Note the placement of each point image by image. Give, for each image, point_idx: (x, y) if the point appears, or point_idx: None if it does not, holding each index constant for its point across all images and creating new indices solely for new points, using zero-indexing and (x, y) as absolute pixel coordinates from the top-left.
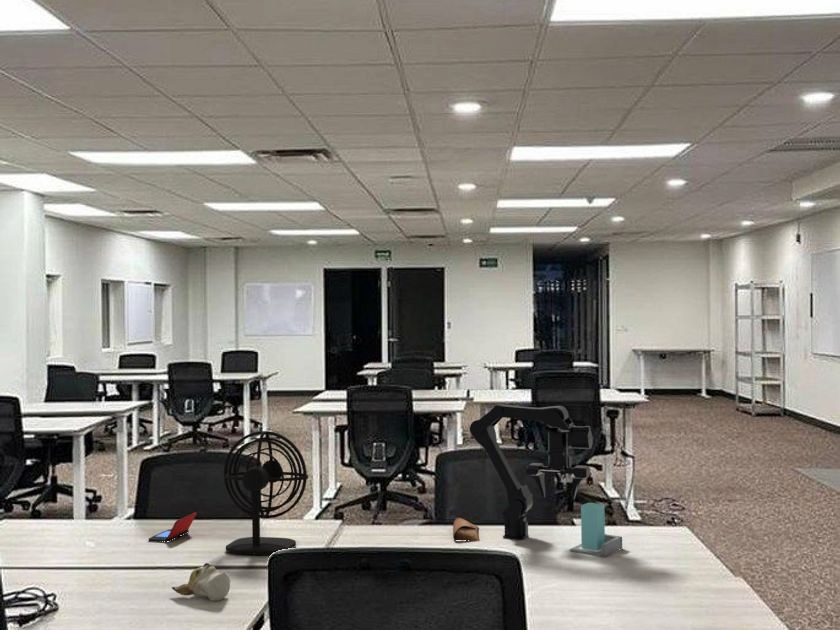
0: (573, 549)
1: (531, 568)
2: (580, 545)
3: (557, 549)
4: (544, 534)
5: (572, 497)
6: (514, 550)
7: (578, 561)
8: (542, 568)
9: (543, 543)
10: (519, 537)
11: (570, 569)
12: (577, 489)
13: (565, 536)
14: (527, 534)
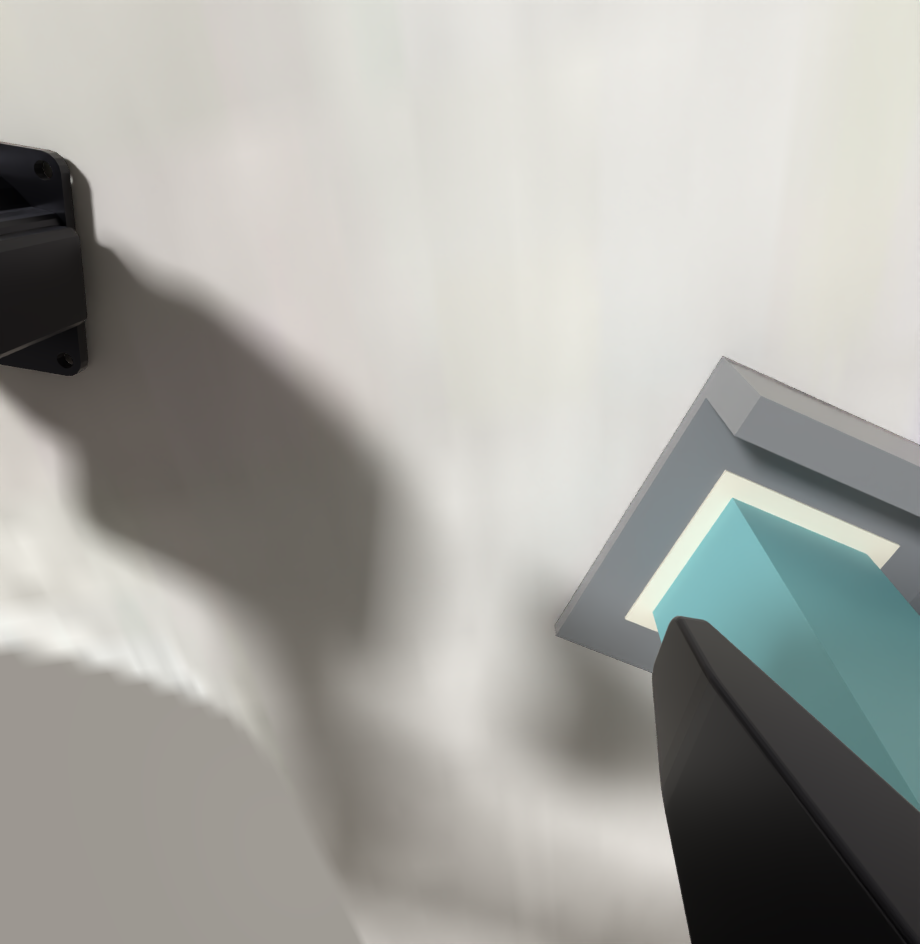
0: (584, 642)
1: (362, 923)
2: (645, 530)
3: (453, 594)
4: (224, 68)
5: (662, 727)
6: (152, 657)
7: (618, 812)
8: (418, 920)
9: (306, 445)
10: (46, 359)
11: (571, 923)
12: (904, 806)
13: (477, 114)
14: (79, 260)
